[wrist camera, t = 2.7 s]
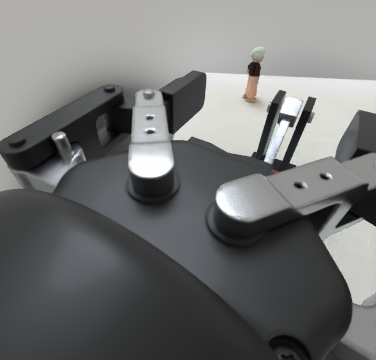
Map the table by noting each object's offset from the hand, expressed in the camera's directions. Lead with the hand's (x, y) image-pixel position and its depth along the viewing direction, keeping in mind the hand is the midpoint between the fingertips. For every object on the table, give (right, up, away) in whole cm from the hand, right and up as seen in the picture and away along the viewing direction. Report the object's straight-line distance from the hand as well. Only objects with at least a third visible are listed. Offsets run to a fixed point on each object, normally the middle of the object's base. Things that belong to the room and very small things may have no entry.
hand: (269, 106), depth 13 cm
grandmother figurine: (+12, +18, +52) cm, 56 cm away
